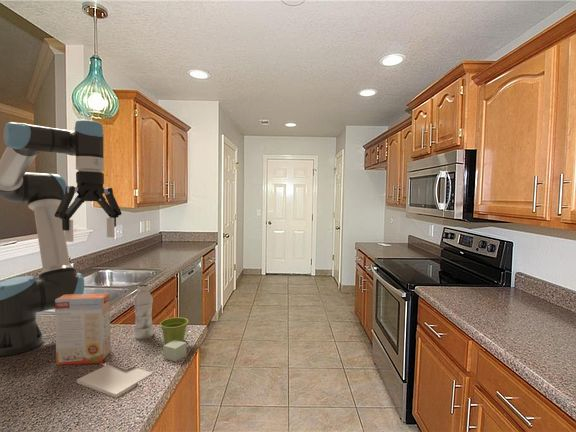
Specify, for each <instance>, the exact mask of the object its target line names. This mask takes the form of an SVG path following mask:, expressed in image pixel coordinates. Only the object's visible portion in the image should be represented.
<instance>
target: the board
mask: <svg viewBox="0 0 576 432" xmlns="http://www.w3.org/2000/svg"><path fill="white" fill-rule="evenodd" d="M151 375H153V372H151V371H148V370H145V369H141V368H138V367H135V366H134V367H131V368H129V369H126V370H125V369H123V368H121V367H119V366H116V365H115V364H112V363H108V364H106V365H104V366H102V367H100V368H99V369H95V370H94V371H92V372H89V373H88V374H86V375H85V374H84V376H80V378H77V379H76V383H77V384H79V385H82V386H84V387H87V388H89V389H92V390H95V391H97V392H100V393H102V394H105V395H108V396H111V397H113V398H118V397H120V396H121V395H123V394H125V393H127V392H128V391H130V390H132V389H133V388H136V387H138V386H139V383H140V381H141V382H142V381H143V380H144V379H147V378H148V377H150V376H151Z"/></svg>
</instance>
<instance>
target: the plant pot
mask: <svg viewBox="0 0 576 432" xmlns="http://www.w3.org/2000/svg"><path fill="white" fill-rule="evenodd" d="M188 323H189V319H188V318H185V317H180V316H179V317H177V316H176V317H169V318H166V319H164V320H162V321H160V322H159V326H160V327H161V330H162V334H163V335H162V336H163V341H164V343H163V344H164V345H166V344H168V343H169V342H171V341H173V340H178V341H182V342H185V335H186V329H187V326H188Z"/></svg>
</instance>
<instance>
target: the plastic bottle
mask: <svg viewBox="0 0 576 432" xmlns="http://www.w3.org/2000/svg"><path fill="white" fill-rule="evenodd" d="M149 291H150V284H140V285H138V286H137V292H138V293H137V294H136V295H135V297H134V298H133V307H134V315H135V324H134V332H133V335H134V339H135V340H146V339H150V338H152V337H153V336H154V332H155V331H154V327H153V319H152V313H153V312H152V310H153V304H154V303H153V302H154V301H153V300H154V298H153V296H152V294H151V293H150V292H149Z"/></svg>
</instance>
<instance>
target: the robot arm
mask: <svg viewBox="0 0 576 432" xmlns="http://www.w3.org/2000/svg"><path fill="white" fill-rule="evenodd" d="M74 125H75V126H74V130H68V129H61V128H54V127H48V126H43V125H42V126H41V125H35V124H30V123H29V124H28V123H24V122H14V121H9V122H7V123H5V125H4V128H3V141H4V142H3V143H4V145H5V147H6V148H5V150H4V151H3V153H2V156H1V157H0V199H2V200H5V201H9V202H11V203H12V202H13V203H27V207H28V209H29V210H31V211H32V212H33V213H34V220H35V228H36V233H37V239H38V246H39V253H40V258H41V260H40V261H41V266H42V271H41V272H40V273H39V274H38V279H37V278H36V277H35V276H33V275H24V276H16V277H12V278H8V279H4V280H2V281H0V357H5V356H7V357H8V356H12V355H17V354H21V353H25V352H27V351H30V350H33V349H35V348H37V347H38V346H40V345H41V344H42V343H43V339H44V338H43V333H42V331H41V329H40V326H39V325H38V323H37V313H40V312H45V311H49V310H55V299H57V298H59V297H61V296H63V295H66V294H85V293H84V292H85V278H84V276H83V274H82V273H80V272H77V270H76V267H74V266H73V265H71V263H70V258H69V257H70V256H69V252H68V251H69V250H68V245H67V242H70V243H72V242H74V219H71V218H72V217H73V215H74V214H75V213H76V212H77V211H78V209H79V208H80V207H81V206H82V204H83V203H85V202H96V203H97V204H98V205H99V206H100V207H101V209H103V211H104V212H105V214H107V216H108V217H106V237H107V238H116V236H115V228H116V226H117V218H119V216H122V210H121V209H120V207H119V204H118V202H117V200H116V198H115V195H114V191H113V188H112V187H104V184H105V174H104V172H103V171H105V170H104V169H105V168H104V165H105V164H104V161H105V160H104V156H105V155H104V154H105V153H104V136H105V134H104V126H103V124H102V123H101V122H98V121H95V120H91V119H90V120H89V119H78V120H76V121H75V124H74ZM40 152H48V153H56V154H64V155H65V154H66V155H69V156H72V157H73V156H75V169H76V170H77V171H76V172H75V181H76V182H75V183H76V186H74V185H68V183H67V182H66V180H65V179H64V177H63V176H61V175H60V174H56V173H50V172H46V173H45V172H27V171H28V170H29V168H30V166H31V165H32V163H33V162H34V160H35V158H37V155H38V153H40ZM76 193H77V195H76V196H75V194H76ZM103 194H104V195H103ZM74 196H75V198H74ZM73 198H74V200H73ZM72 200H73V201H72ZM71 202H72V203H71Z"/></svg>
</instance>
